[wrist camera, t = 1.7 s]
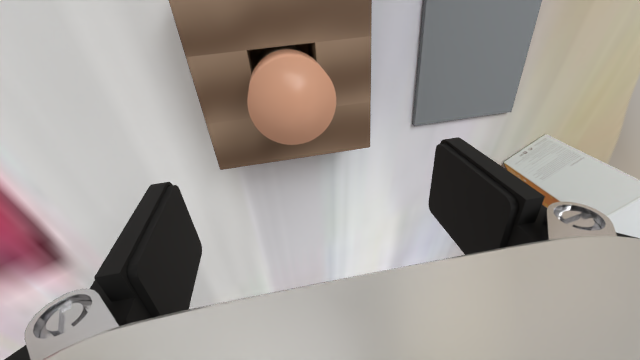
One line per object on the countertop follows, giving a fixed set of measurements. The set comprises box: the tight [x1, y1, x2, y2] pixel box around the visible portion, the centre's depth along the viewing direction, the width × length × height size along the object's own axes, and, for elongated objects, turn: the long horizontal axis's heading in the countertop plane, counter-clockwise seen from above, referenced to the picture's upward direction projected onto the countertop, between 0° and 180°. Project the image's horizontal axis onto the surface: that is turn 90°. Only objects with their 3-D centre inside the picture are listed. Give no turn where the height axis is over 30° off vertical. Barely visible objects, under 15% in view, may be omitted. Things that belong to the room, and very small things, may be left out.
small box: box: [504, 134, 640, 238], centre depth 36 cm, size 8×6×13 cm
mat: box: [412, 0, 542, 126], centre depth 30 cm, size 16×12×1 cm
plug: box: [247, 45, 336, 145], centre depth 23 cm, size 6×6×11 cm
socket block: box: [169, 0, 372, 170], centre depth 26 cm, size 14×14×6 cm
